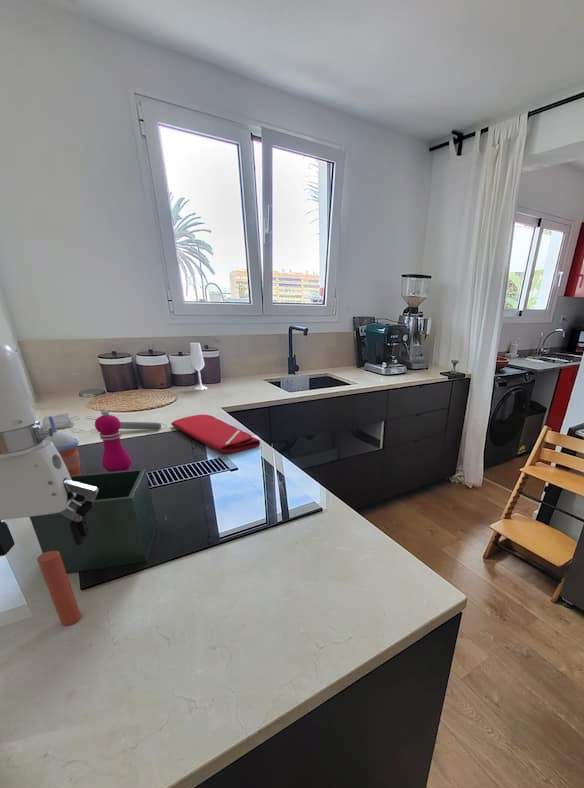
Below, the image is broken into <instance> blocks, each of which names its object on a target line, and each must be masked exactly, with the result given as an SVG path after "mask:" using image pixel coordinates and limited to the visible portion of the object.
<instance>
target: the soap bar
mask: <svg viewBox="0 0 584 788" xmlns="http://www.w3.org/2000/svg"><path fill="white" fill-rule="evenodd" d="M48 417H53V420H54V424H55V427H56V429H64V428H68V427H69V428H71V427H72V428H73V427H74V423H73V419H72V418H71V417H70V413H68V412H67V413H62V414H57V415H49V416H45V417H44V418H43V419H42V423H41V426H42V427H51V424H50V421H49V418H48ZM69 419H70V420H69ZM70 421H71V422H70ZM68 422H70V423H69V424H73V425H70V426H71V427H70V426H68ZM67 426H68V427H67Z"/></svg>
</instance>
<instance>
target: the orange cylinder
mask: <svg viewBox="0 0 584 788" xmlns="http://www.w3.org/2000/svg"><path fill="white" fill-rule="evenodd" d="M36 562H37V563H38V566H39V569H40V571H41V575H42V577H43V580H44V583H45V585H46V587H47V590H48V593H49V596H50V598H51V600H52V604H53V606H54V609H55V611H56V614H57V617H58V620H59V622H60V624H61V626H63V627H69V626H72V625H74V624H76V623H78V622H79V621H80V620H81V618H82V614H81V611H80V610H81V609H80V608H79V605H78V602H77V598H76V596H75V593H74V590H73V587H72V584H71V581H70V578H69V576H68V574H67V573H66V570H65V567H64V564H63V561H62V558H61V555H60V552H59V551H48V552H45V553H43V552H42V553H41V554H40V555H38V556H37V558H36Z"/></svg>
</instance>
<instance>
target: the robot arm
mask: <svg viewBox="0 0 584 788" xmlns="http://www.w3.org/2000/svg"><path fill="white" fill-rule="evenodd" d="M52 436H53V430H52V428H51V427H42V424H41V421H39V420H38V419H37V415H36V412H35V409H34V406H33V404H32V400H31V397H30V394H29V391H28V388H27V384H26V381H25V379H24V375H23V372H22V370H21V367H20V364H19V360H18V358H17V354H16V353H15V351H14V349H13V348H12V347H11V346H10V345H8V344H7V343H4V342H0V557H4V556H6V555H7V554H8V553H9V552H10V551H11V549H12V548H13V547H14V546H15V544H16V543H15V540H14V537H13V536H12V533H11V530H10V528H9V525H8V523H6V521H3V520H12V519H13V520H14V519H22V518H30V517H31V516H39V515H47V514H54V513H61V514H63V515H64V516H66V517H68V518H70V519H71V520H72V521H71V522H70V528H71V531H72V534H73V537H74V540H75V543H76V545H82V544H83V543H84V541H85V539H86V537H87V536H88V535H89V533H90V529H89V526H88V523H87V519H86V516H85V515H86V514H87V512H88V511H89V510H90V509H91V508H92V506H93V504H94V503H95V500H96V497H97V494H98V491H99V489H98V488H97V487H94V486H90V485H87V484H83V483H79V482H75V481H72V479H71V477H70V474H69V472H68V470H67V468H66V466H65V463H64V461H63V459H62V458H61V456H60V454H59V452H58V451H57V449H56V447H55V446H54V444H53V443H52V441H49V440H46V441H44V439H45V438H46V437H52ZM76 494H80V495H83V496H84V497H85V500H84V502H83V504H80V503H78V502H77V501H75V500H74V499H73V498H75V496H76Z"/></svg>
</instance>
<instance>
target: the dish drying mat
mask: <svg viewBox="0 0 584 788" xmlns="http://www.w3.org/2000/svg"><path fill="white" fill-rule="evenodd" d="M170 425H171V426H172V427H174V428H176V429H178V430H179V431H181V432H182V433H184V434H186V435H187V436H189V437H191V438H193V439H195V440H197V441H199V442H200V443H202V444H204V445H206V446H208V447H210V448H212V449H214V450H217V451H219V452H222V453H227V454H228V453H229V454H230V453H236V452H240V451H245V450H249V449H253V447H254V448H257V447H256V446H258V447H260V445H261V440H259V439H258V438H256V437H254V436H252V434H250V433H248V432H246V431H243V430H241V429H239V428H237V427H235V426H233V425H231V424H229V423H227V422H225V421H222V420H220V419H218V418H217V417H215V416H212V415H210V414H195V415H191V416H185V417H182V418H178V419H175V420H173V421H172V422H171V423H170Z"/></svg>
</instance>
